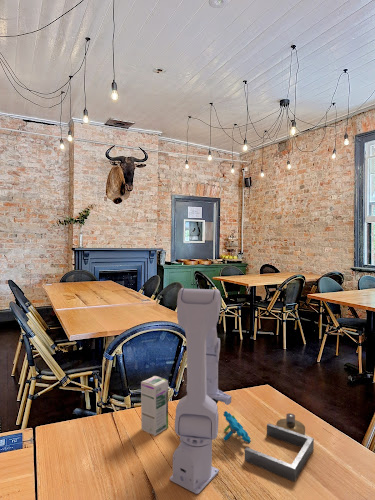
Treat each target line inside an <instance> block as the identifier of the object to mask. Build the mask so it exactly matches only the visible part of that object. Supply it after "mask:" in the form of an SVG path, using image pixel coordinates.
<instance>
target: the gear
mask: <svg viewBox="0 0 375 500" xmlns="http://www.w3.org/2000/svg"><path fill="white" fill-rule="evenodd" d="M223 417H224V418H225V421H226V422H227V423H228V425H227V426H226V427H225V428H224V429H223V431H224V432H226V433H227V434H225V436H223V440H224V441H225V442H227V440H229V439H230V438H231V436H232V435H235V434H237V436H238V437H241V439H242V440H243V441H244V442H246V443H248V444H250V443H251V442H252V440H251V437H250V435H249V433H248V431H246V430H245V429H244V426H243V425H242V424H241V423H240V422H239V421H238V420H237V418H236V417H235V415H232V413H230V412H228V411H227V410H225V411H223ZM228 430H229V431H228ZM227 431H228V432H227Z"/></svg>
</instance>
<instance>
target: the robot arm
mask: <svg viewBox="0 0 375 500" xmlns="http://www.w3.org/2000/svg"><path fill="white" fill-rule="evenodd" d="M221 296H222V295H221V291H220V290H219V289H218V288H215V289H214V288H213V289H212V288H211V289H207V288H206V289H205V288H185V287H181V288H180V289H179V290H178V293H177V300H176V314H177V315H176V316H177V325H178V326H180V327H182V328H183V329H184V332H185V333H184V334H185V339H186V374H187V375H186V389H185V390H186V392H187V394H186V395H185V396H183V397H182V398H180V399H179V400H178V402H177V405H176V408H175V416H174V417H175V418H174V432H175V433H176V435H177V436H179V441H180V443H179V445H178V446H177V447H176V449H175V450H174V451H173V454H172V475H171V476H169V480H170V481H171V482H173V483H174V484H176V485H179V486H180V487H183V488H184V489H186V490H188V491H190V492H191V493H193V494H195V495H198V494H200V493H201V491H202V490H204V488H205V487H206V486H207V485H208V484H209V483H210V482H211V481H212V480H213V479H214V478H215V477H216V476H217V475H218V473H219V472H220V469H219V468H217V467H214V466H213V465H212V463H213V440H214V441H215V440H216V439H217V437H218V432H219V420H220V419H219V411H218V410H219V408H218V405H217V404H218V402H221V403H223V404H224V405H227V406H228V405H230V404H231V403H232V395H230V394H228V393H225V392H224V391H222V390H220V389H219V359H220V352H221V338H220V337H218V332H217V326H218V325H217V324H218V322H219V318H220V317H219V316H220V313H221V300H222V299H221Z"/></svg>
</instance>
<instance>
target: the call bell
mask: <svg viewBox="0 0 375 500" xmlns="http://www.w3.org/2000/svg"><path fill="white" fill-rule="evenodd" d="M285 416H286V418H280V419H278V420H277V421H276V423H275V424H276V426H279V427H282V428H285V429H288V430H291V431H294V432H297V433H300V434H303V435H306V426H305V425H304V424H303V423H302V422H301V421H300V420H297V419H296V415H295V414H293V413H290V412H289V413H286V415H285Z"/></svg>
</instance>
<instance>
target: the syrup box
mask: <svg viewBox="0 0 375 500" xmlns="http://www.w3.org/2000/svg"><path fill="white" fill-rule="evenodd" d="M140 393H141V394H140V406H141V408H140V410H141V412H140V413H141V415H140V416H141V427H140V428H141V430H142V431H144V432H146V433H147V434H150V435H152V436H154V437H156V436H157V435H158V434H160V433H162V432H163V431H165V430H167V429H168V428H169V380H168V379H166V378H163V377H160V376H157V375H152V377H150V378H148V379H145V380H142V381H140Z"/></svg>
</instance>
